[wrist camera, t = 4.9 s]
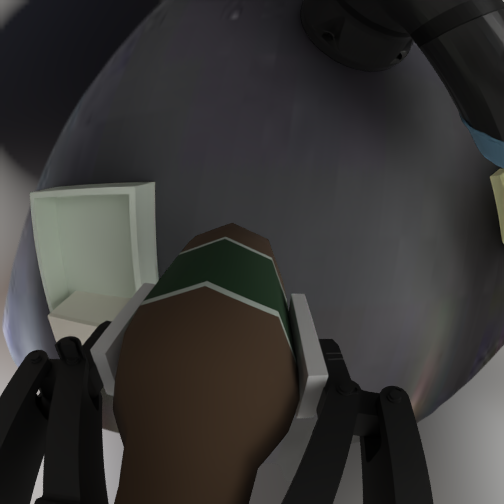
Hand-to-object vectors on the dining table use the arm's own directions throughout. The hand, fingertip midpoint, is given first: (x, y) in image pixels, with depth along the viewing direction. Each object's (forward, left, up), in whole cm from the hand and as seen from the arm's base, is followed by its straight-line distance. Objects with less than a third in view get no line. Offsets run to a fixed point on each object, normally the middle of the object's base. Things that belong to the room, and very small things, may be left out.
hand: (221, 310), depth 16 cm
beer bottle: (0, 0, -7) cm, 7 cm away
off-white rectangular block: (+19, +14, -18) cm, 30 cm away
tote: (+19, +7, -19) cm, 28 cm away
